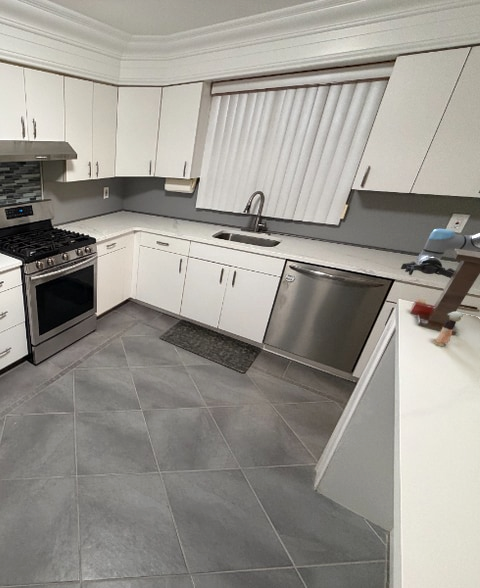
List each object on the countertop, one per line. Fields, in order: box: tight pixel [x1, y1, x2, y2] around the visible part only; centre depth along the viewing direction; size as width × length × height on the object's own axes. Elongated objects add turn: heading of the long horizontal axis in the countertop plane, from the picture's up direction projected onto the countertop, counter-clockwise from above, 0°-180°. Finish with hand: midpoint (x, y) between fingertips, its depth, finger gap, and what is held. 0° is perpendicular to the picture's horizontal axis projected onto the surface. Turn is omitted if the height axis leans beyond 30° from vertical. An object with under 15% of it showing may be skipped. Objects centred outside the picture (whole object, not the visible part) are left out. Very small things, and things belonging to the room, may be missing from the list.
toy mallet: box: [409, 298, 434, 316], centre depth 132 cm, size 15×6×4 cm, turn 137°
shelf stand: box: [416, 249, 480, 336], centre depth 116 cm, size 12×10×29 cm
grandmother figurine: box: [432, 311, 464, 347], centre depth 108 cm, size 8×4×13 cm, turn 137°
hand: (432, 276), depth 135 cm, fingers open, 13 cm apart
